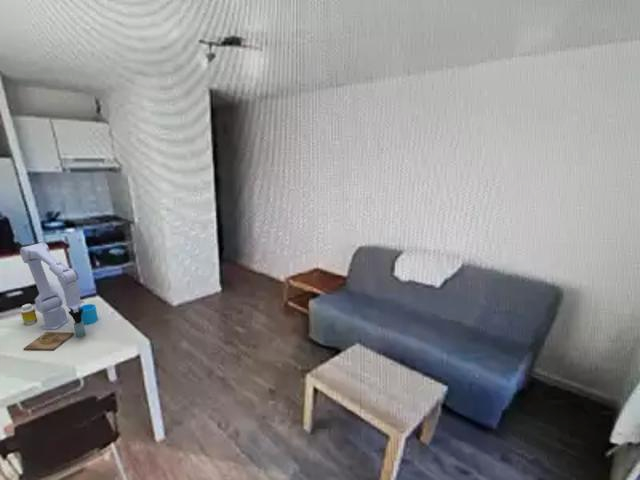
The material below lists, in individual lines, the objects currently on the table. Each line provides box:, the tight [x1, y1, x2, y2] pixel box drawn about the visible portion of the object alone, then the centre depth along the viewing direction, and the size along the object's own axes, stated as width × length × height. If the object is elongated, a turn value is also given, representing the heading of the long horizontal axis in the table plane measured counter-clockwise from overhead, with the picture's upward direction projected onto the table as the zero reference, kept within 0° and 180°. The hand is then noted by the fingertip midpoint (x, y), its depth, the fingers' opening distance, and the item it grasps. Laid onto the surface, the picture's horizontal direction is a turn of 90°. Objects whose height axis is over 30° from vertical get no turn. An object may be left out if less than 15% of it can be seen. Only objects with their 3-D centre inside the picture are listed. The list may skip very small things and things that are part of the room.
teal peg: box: [73, 321, 86, 339], centre depth 175 cm, size 4×4×7 cm
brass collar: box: [39, 333, 58, 344], centre depth 170 cm, size 7×7×2 cm
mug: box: [79, 303, 99, 326], centre depth 189 cm, size 12×8×8 cm
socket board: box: [23, 331, 75, 352], centre depth 170 cm, size 14×14×1 cm
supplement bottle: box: [20, 303, 38, 326], centre depth 185 cm, size 6×6×10 cm
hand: (77, 319), depth 173 cm, fingers open, 7 cm apart
